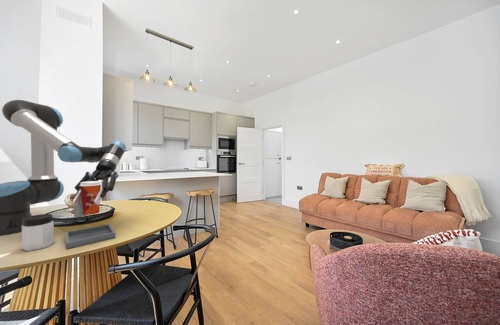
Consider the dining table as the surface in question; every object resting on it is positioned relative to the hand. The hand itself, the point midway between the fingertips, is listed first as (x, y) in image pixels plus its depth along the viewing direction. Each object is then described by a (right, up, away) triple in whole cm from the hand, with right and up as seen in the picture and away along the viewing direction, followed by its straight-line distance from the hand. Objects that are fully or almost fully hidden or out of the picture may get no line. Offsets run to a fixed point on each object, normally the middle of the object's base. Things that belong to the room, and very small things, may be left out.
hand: (85, 203), depth 83 cm
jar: (-15, -16, -5) cm, 23 cm away
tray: (-1, -16, +4) cm, 17 cm away
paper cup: (-1, -5, +4) cm, 6 cm away
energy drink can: (-24, -16, +25) cm, 38 cm away
